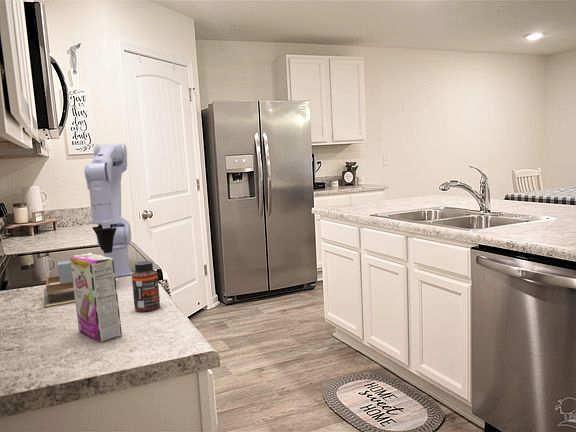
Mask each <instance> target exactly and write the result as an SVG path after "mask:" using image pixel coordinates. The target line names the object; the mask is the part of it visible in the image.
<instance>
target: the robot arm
mask: <svg viewBox="0 0 576 432" xmlns="http://www.w3.org/2000/svg"><path fill="white" fill-rule="evenodd" d="M127 167H128V151H127V145H126V144H125V143H124V142H122V143H110V144H109V143H108V144H107V143H106V144H95V145H94V146H93V158H92V161H90V162H89V163H87V165H84V177H85V181H86V186H87V190H89V191H88V192H89V199H90V200H89V201H90V208H91V218H92V220H88V221H87V223H88V224H91V225H92V224H93V225H97V226H92V230H93V231H94V233H95V235H96V241H97V246H98V247H100V250H101V251H102V252H103V256H105V257H109V258H113V263H114V272H115V278H117V277H118V278H120V277H125V276H129V275H131V276H132V274H133V273H134V272H133V271H132V270H131V268H130V259H129V251H128V250H129V249H128V246H130V245H131V243H132V230H131V225H130V223H129V221H128V220H127V219H126V218H123V217H122V185H121V183H122V176H123V173H124V172H126V171H127V169H128V168H127Z"/></svg>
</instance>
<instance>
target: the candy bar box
mask: <svg viewBox="0 0 576 432" xmlns="http://www.w3.org/2000/svg"><path fill="white" fill-rule="evenodd" d="M69 261H70V265H71V272H72V280H73V287H74V294H75V302H76V303H75V308H76V310H75V311H76V316H77V324H78V326H77V327H78V330H79V332H81V333H83V334H85V335H86V336H88V337H89V338H92V339H94V340H95V341H97V342H99V343H104V342H107V341H111V340H114V339H116V338H119V337H122V336H123V333H122V323H121V316H120V315H121V314H120V307H119V299H118V290H117V281H116V277H115V272H114V263H113V258H109V257H105V256H104V255H101V254H98V253H93V252H86V253H81V254H76V255H72V256H69Z"/></svg>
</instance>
